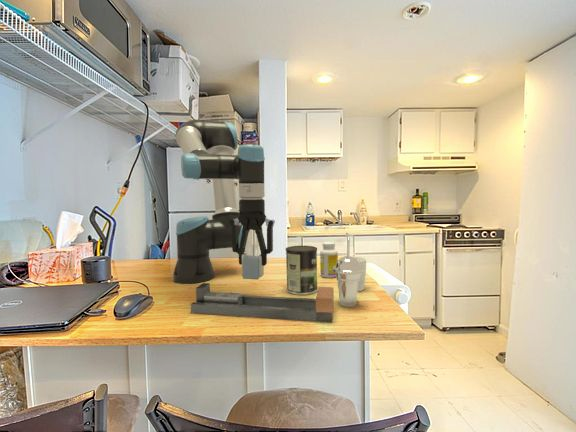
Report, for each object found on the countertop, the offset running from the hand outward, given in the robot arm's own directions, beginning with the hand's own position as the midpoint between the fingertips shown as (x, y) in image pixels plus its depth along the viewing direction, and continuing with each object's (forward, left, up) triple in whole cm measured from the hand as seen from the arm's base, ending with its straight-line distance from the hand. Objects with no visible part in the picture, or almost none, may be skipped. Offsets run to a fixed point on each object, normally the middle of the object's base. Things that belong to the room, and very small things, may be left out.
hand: (253, 275), depth 90 cm
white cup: (+30, +14, -8) cm, 34 cm away
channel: (+5, -9, -7) cm, 13 cm away
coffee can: (+13, +10, -8) cm, 19 cm away
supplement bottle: (+21, +28, -8) cm, 36 cm away
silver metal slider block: (-7, -9, -7) cm, 13 cm away
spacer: (0, 0, -1) cm, 1 cm away
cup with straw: (+28, 0, -8) cm, 29 cm away
